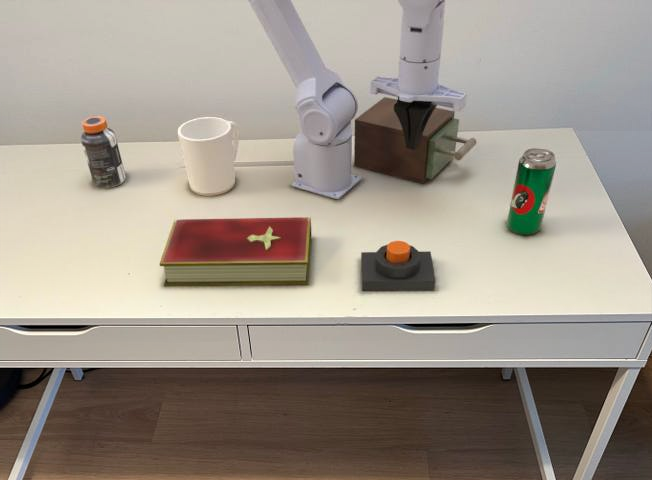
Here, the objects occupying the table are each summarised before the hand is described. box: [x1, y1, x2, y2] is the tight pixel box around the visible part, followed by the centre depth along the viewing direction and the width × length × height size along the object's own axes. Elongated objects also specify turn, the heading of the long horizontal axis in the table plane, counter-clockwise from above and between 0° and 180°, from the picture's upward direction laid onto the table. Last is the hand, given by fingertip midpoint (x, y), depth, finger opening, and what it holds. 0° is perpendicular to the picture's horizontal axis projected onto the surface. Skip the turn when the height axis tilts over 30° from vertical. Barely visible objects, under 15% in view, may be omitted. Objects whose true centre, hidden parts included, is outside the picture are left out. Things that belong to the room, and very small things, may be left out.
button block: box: [360, 244, 436, 292], centre depth 93 cm, size 10×7×4 cm
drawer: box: [425, 117, 478, 180], centre depth 114 cm, size 17×9×7 cm, turn 55°
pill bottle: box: [80, 115, 127, 189], centre depth 116 cm, size 6×6×11 cm
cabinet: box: [353, 96, 456, 185], centre depth 116 cm, size 14×11×9 cm
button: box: [386, 240, 411, 263], centre depth 92 cm, size 3×3×2 cm
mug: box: [177, 116, 240, 197], centre depth 113 cm, size 11×9×10 cm
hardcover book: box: [159, 216, 313, 287], centre depth 98 cm, size 12×21×4 cm, turn 86°
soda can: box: [506, 147, 557, 236], centre depth 97 cm, size 5×5×12 cm
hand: (412, 146), depth 103 cm, fingers closed
